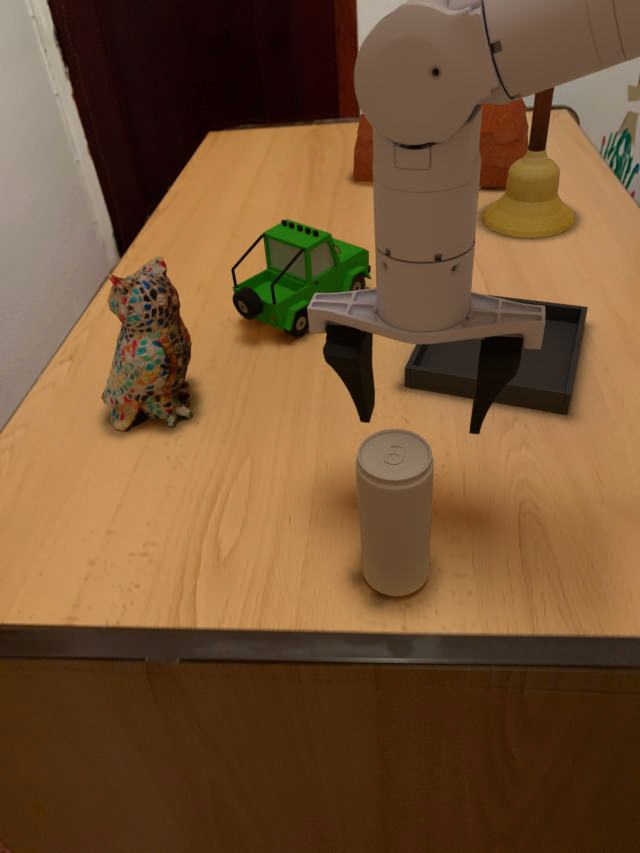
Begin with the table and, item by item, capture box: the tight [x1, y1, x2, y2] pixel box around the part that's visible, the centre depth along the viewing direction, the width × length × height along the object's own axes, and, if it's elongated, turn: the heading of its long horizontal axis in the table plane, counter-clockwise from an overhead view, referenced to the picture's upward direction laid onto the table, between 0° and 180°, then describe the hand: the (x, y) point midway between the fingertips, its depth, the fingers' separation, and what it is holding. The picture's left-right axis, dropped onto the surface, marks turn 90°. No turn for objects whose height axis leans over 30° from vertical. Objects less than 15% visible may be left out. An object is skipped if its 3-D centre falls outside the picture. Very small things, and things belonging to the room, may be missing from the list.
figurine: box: [100, 255, 194, 432], centre depth 60 cm, size 9×9×15 cm
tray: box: [404, 293, 589, 415], centre depth 66 cm, size 15×15×2 cm
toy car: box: [230, 218, 372, 338], centre depth 73 cm, size 8×17×10 cm, turn 137°
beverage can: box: [355, 428, 435, 597], centre depth 44 cm, size 5×5×12 cm
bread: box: [352, 98, 530, 188], centre depth 102 cm, size 16×27×11 cm, turn 72°
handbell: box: [481, 87, 576, 239], centre depth 82 cm, size 12×12×25 cm
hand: (420, 419), depth 47 cm, fingers open, 7 cm apart
